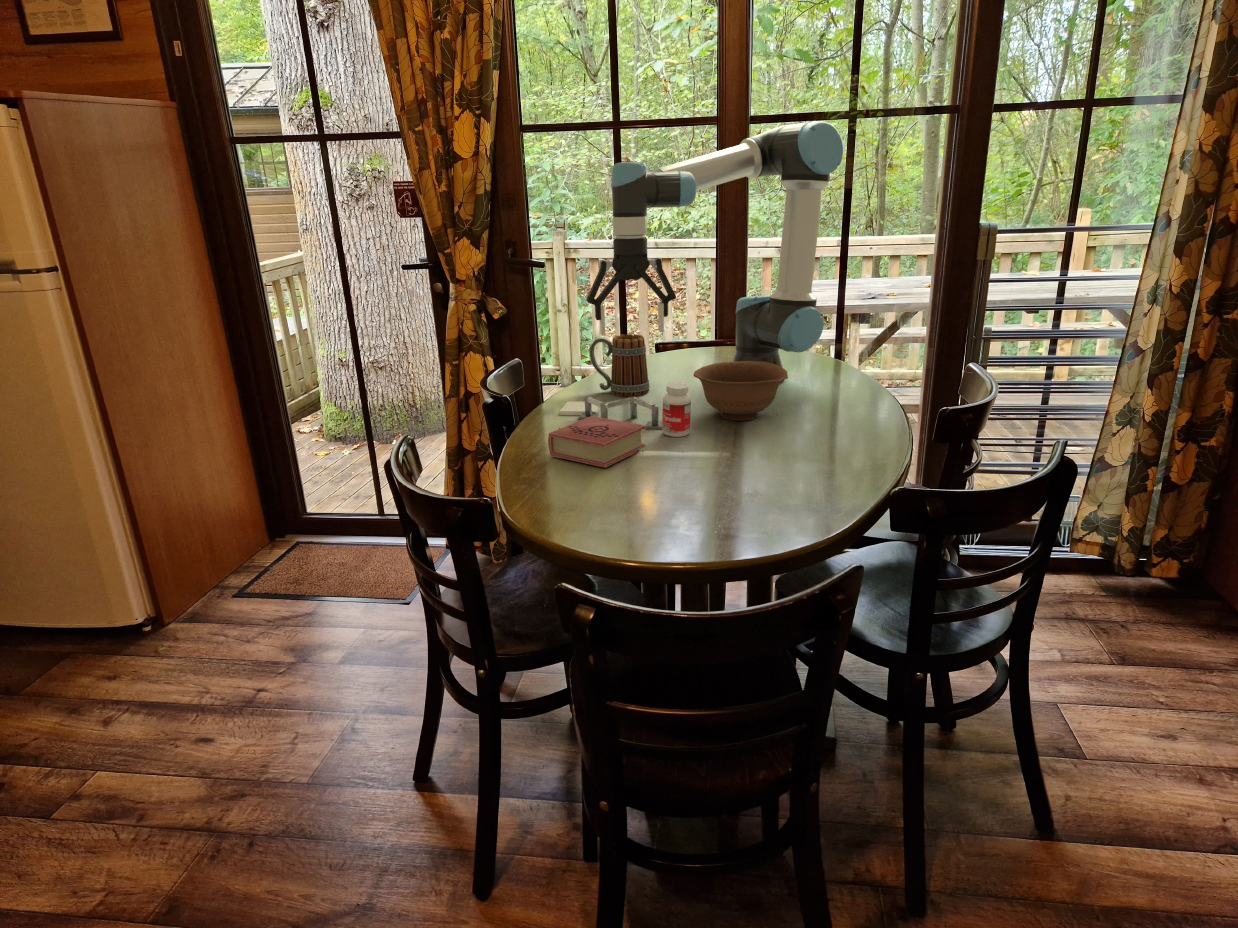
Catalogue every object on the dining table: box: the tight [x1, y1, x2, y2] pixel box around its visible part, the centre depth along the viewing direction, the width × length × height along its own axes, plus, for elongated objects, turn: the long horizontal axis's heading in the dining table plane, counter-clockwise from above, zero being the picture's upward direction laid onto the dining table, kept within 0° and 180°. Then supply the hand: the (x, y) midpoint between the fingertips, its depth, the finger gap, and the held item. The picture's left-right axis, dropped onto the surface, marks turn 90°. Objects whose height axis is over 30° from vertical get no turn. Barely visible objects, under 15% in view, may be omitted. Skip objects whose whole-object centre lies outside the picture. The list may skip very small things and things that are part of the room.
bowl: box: [693, 361, 789, 422], centre depth 185 cm, size 22×22×11 cm
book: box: [547, 416, 646, 469], centre depth 165 cm, size 14×15×5 cm
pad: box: [559, 401, 601, 416], centre depth 196 cm, size 9×9×1 cm
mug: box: [589, 333, 651, 398], centre depth 209 cm, size 16×11×15 cm
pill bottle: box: [661, 381, 692, 438], centre depth 173 cm, size 6×6×11 cm
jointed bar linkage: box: [578, 395, 662, 430], centre depth 184 cm, size 21×11×5 cm, turn 81°
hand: (632, 333), depth 181 cm, fingers open, 13 cm apart
